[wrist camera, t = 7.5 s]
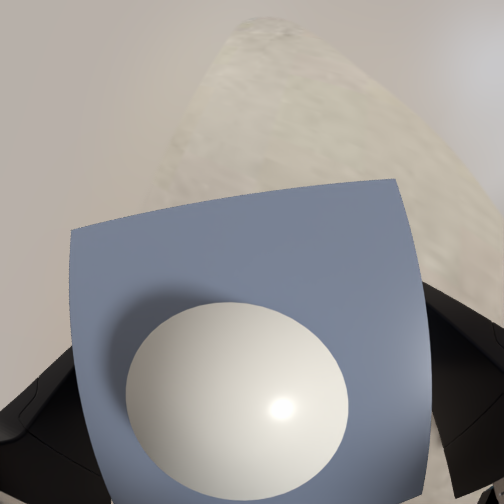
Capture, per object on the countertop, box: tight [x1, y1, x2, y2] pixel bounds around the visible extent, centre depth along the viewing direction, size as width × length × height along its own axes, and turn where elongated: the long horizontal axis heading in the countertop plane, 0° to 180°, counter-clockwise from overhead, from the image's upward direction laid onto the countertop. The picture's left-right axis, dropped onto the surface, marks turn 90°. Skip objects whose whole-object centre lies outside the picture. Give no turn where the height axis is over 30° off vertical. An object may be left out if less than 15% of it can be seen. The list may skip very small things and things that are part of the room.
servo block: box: [69, 179, 432, 504], centre depth 9 cm, size 5×5×14 cm
